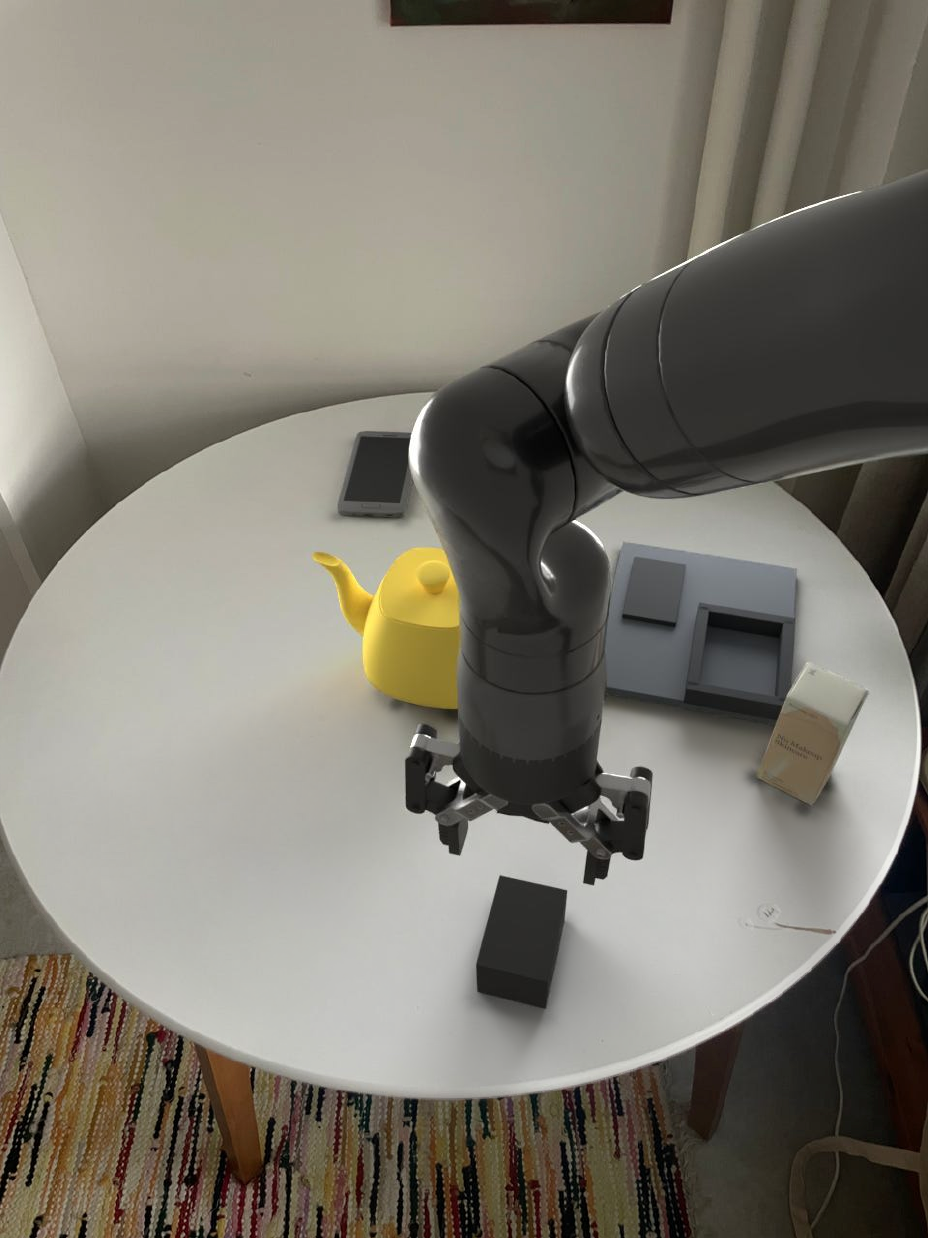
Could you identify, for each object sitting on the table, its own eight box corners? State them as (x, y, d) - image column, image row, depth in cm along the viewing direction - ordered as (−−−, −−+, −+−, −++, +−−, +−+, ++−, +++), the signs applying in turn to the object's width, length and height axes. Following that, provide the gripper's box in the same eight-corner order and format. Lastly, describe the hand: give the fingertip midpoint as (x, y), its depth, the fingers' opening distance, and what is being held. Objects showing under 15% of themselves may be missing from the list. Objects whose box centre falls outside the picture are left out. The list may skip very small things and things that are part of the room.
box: (754, 777, 85) (781, 693, 77) (776, 742, 87) (804, 657, 79) (815, 809, 83) (849, 726, 75) (836, 772, 85) (871, 687, 77)
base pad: (794, 575, 101) (801, 553, 98) (784, 729, 88) (792, 708, 86) (622, 548, 104) (624, 526, 102) (588, 693, 91) (591, 671, 89)
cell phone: (336, 515, 108) (335, 510, 108) (357, 435, 118) (357, 429, 117) (405, 518, 108) (404, 513, 107) (421, 437, 117) (420, 432, 117)
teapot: (352, 597, 100) (337, 499, 91) (553, 631, 96) (558, 534, 87) (303, 702, 92) (281, 606, 82) (522, 745, 88) (524, 649, 79)
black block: (564, 919, 77) (567, 890, 74) (545, 1009, 72) (547, 982, 69) (499, 904, 78) (499, 874, 74) (477, 992, 73) (475, 965, 70)
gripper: (376, 727, 52) (399, 885, 64) (659, 784, 49) (628, 937, 61) (418, 621, 57) (432, 785, 69) (678, 667, 54) (645, 830, 66)
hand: (524, 857), depth 65 cm, fingers open, 8 cm apart
